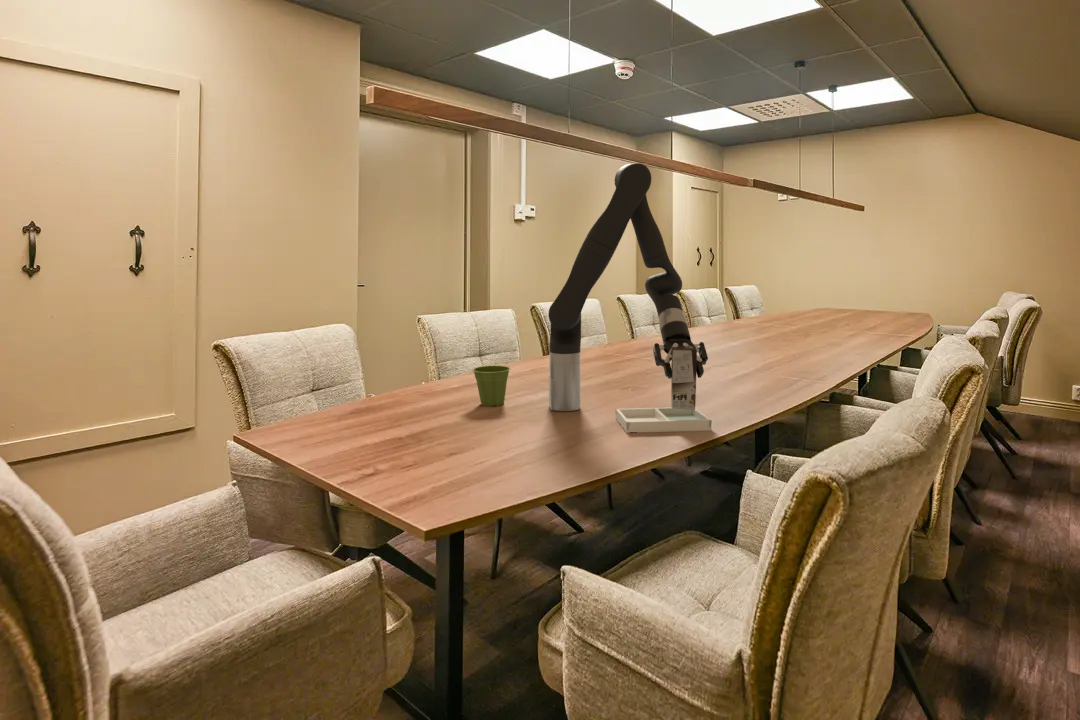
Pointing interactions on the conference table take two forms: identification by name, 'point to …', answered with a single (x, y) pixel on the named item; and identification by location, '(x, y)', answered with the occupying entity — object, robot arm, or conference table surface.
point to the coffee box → (683, 377)
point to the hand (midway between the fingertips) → (685, 376)
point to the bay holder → (662, 420)
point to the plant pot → (491, 384)
